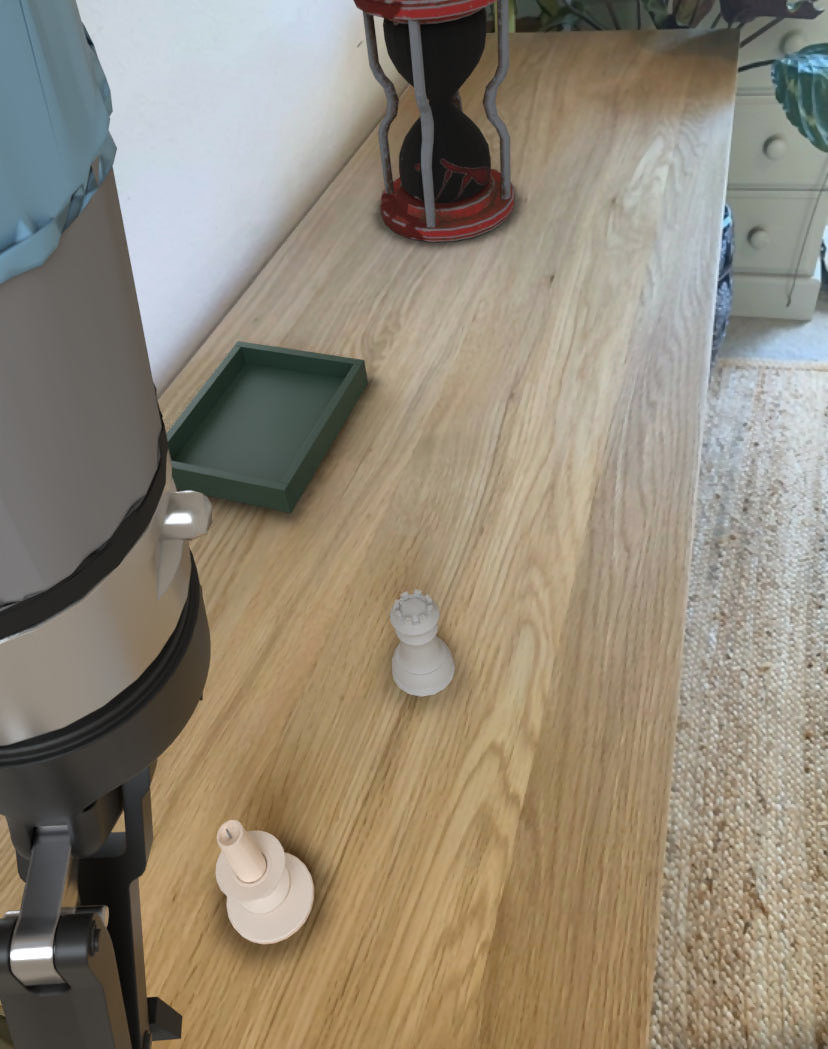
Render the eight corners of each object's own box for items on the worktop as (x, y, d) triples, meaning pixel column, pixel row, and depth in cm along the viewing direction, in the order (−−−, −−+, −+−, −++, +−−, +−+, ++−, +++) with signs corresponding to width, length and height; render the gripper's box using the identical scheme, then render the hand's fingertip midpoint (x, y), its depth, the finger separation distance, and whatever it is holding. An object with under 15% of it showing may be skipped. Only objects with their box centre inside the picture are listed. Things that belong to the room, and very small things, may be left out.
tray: (291, 513, 72) (284, 490, 70) (154, 484, 76) (143, 462, 74) (368, 383, 82) (364, 359, 80) (244, 363, 86) (237, 340, 84)
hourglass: (402, 173, 110) (378, -53, 92) (526, 178, 106) (526, -57, 88) (364, 239, 100) (328, 1, 82) (499, 247, 96) (494, -1, 78)
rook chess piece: (409, 637, 62) (397, 569, 56) (465, 657, 61) (459, 589, 55) (381, 686, 60) (366, 621, 54) (439, 709, 58) (429, 643, 52)
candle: (230, 954, 49) (176, 892, 41) (226, 864, 53) (175, 792, 45) (319, 932, 49) (282, 867, 42) (309, 845, 53) (273, 770, 45)
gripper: (141, 1344, 12) (241, 1210, 30) (222, 237, 26) (257, 587, 44) (-446, 1418, 11) (13, 1235, 29) (-37, 229, 25) (105, 590, 43)
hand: (160, 844), depth 36 cm, fingers open, 13 cm apart
